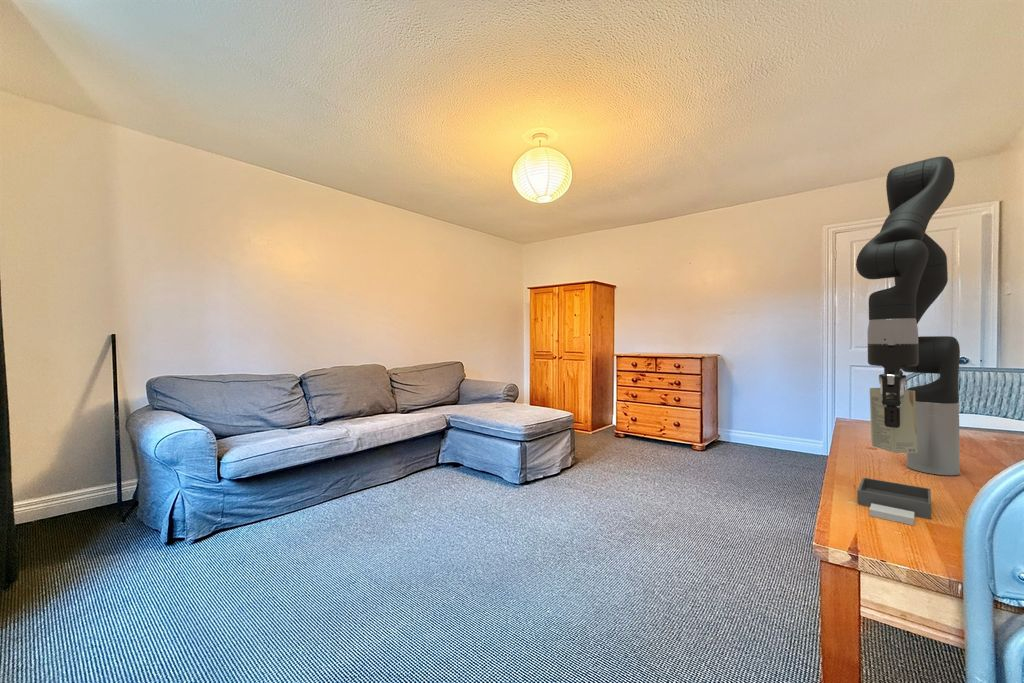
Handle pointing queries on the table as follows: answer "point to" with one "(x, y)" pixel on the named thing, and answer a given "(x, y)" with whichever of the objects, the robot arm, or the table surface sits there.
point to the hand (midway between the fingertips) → (893, 423)
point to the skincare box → (892, 437)
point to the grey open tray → (894, 500)
